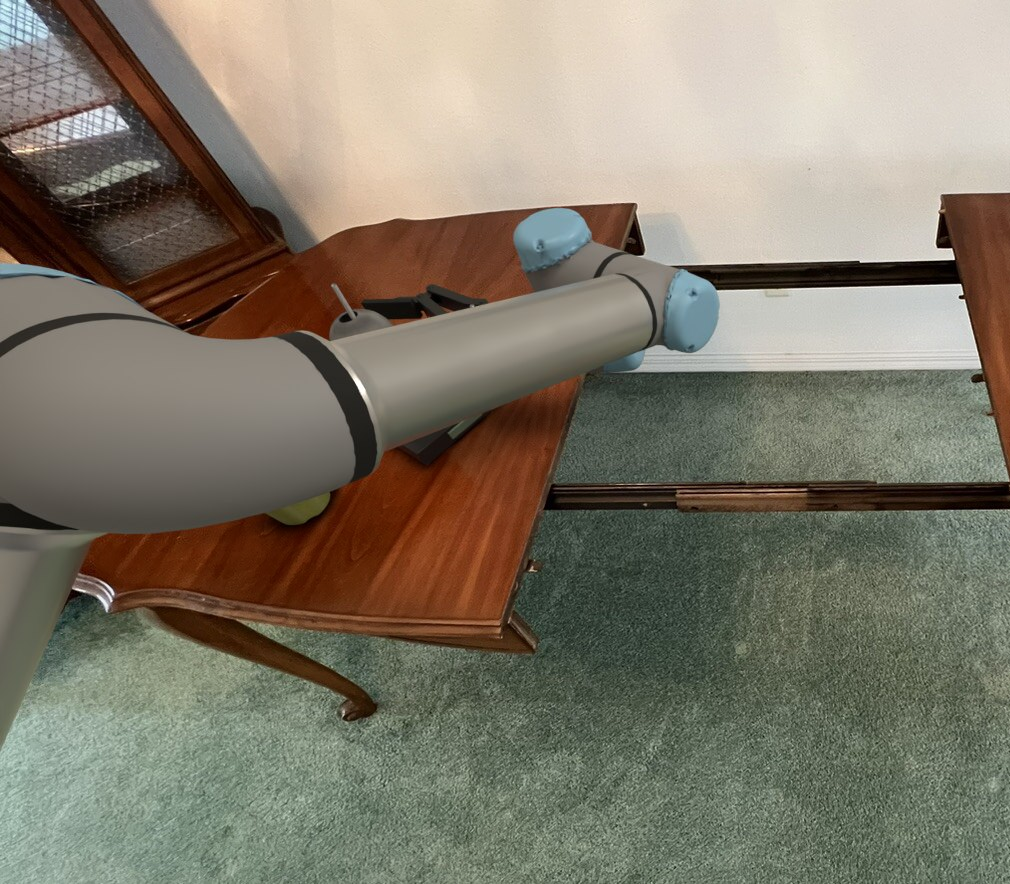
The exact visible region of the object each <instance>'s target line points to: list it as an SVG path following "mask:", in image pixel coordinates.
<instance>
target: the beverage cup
mask: <svg viewBox="0 0 1010 884" xmlns="http://www.w3.org/2000/svg"><path fill="white" fill-rule="evenodd" d="M331 288H332V290H333V291H334V293H335V295H336V296H337V298H338V299H339V302H340V303H341V305H342V306H343V308H344V310H345V311H344V312H342V313H340V314H339V315H338V316H337V317H336V318H335V319H334V320H333V322H332V323H331V325H330V329H329V334H328V335H329V336H328V337H329V341H333V340H337V339H342V338H346V337H350V336H354V335H358V334H363V333H367V332H371V331H375V330H379V329H384V328H388V327H392V326H395V325H394V324H393V323H392V322H391V321H390V320H388V319H387V318H385V317H383V316H382V315H380V314H379V313H376V312H374V311H371V310H366V309H364V308H354V309H352V308H351V306H350V305H349V303H348V301H347V299H346V297H345V296H344V295H343V293H342V292H341V290H340V288H339V286H338V285H337V284H336V283H332V284H331Z"/></svg>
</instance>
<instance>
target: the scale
mask: <svg viewBox="0 0 1010 884" xmlns="http://www.w3.org/2000/svg"><path fill="white" fill-rule="evenodd" d="M493 410H494V409H492V410H489V411H487V412H484V413H482V414H479V415H477V416H474V417H472V418H469V419H467V420H464V421H462V422H459V423H456V424H454V425H451V426H449V427H446V428H444V429H441V430H439V431H436V432H434V433H431V434H429V435H426V436H423V437H421V438H418V439H416V440H413V441H411V442H408V443H406V444H403V445H401V446H398V447H396V448H397V449H399V450H400V451H402V452H403V453H405V454H407V455H408V456H410V457H411V458H413V459H415V460H416V461H418V462H419V463H421V464H423V465H425V466H426V467H427V466H428V465H430V464H431V463H432V462H433V461H434V460H435V459H437V458H438V457H439V456H440V455H442V454H443V453H444V452H445V451H446V450H447V449H448V448H450V447H451V446H452V445H453V444H455V443H456V442H457V441H458V440H459V439H460V438H462V437H463V436H464V435H465V434H466V433H467V432H469V431H470V430H471V429H472V428H474V427H475V426H476V425H477V424H478V423H479V422H481V420H483V419H484V418H485V417H486V416H488V415H489V414H490V413H491V412H492V411H493Z"/></svg>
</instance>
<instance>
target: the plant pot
mask: <svg viewBox="0 0 1010 884" xmlns="http://www.w3.org/2000/svg"><path fill="white" fill-rule="evenodd" d="M330 500H331V493H330V492H328V493H325V494H323V495H320V496H317V497H314V498H312V499H309V500H306V501H303V502H300V503H297V504H293V505H290V506H287V507H283V508H280V509H277V510H273V511H270V512H266V513H265V514H266V515H268V516H269V517H271V518H273V519H275V520H277V521H278V522H280V523H282V524H284V525H288V526H298V525H303V524H305V523H306V522H308V521H309V520H310V519H312V518H314V517H317V516H318V515H320V514H321V513H322V512H323V511H325V509H326V508H327V506H328V504H329V502H330Z"/></svg>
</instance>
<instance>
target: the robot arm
mask: <svg viewBox="0 0 1010 884" xmlns="http://www.w3.org/2000/svg"><path fill="white" fill-rule="evenodd" d="M592 235H593V233H592V231H591V230H590V228H589V226H588V225H587V222H586V220H585V218H584V217H582V215H580V213H579V212H577V211H575V210H573V209H571V208H563V207H552V208H547V209H543V210H539V211H537V212H534V213H532V214H530V215H529V216H528V217H526V218H525V219H524V220H522V221H521V222H520V223H518V225H517V226H516V228H515V229H514V232H513V235H512V237H513V238H512V240H513V245H514V247H515V251H516V253H517V255H518V259H519V261H520V263H521V266H520V267H521V270H522V272H524V274H525V277H526V279H527V280H528V282H529V285H530V287H531V288H532V291H533V292H532V293H527V294H523V295H519V296H515V297H511V298H507V299H502V300H498V301H497V300H496V301H493V302H489V301H488V299H486V298H477V297H476V298H475V297H470V296H468V295H464V294H461V293H459V292H457V291H454V290H451V289H448V288H445V287H443V286H439V285H437V284H435V283H431V284H428V285H426V287H425V290H426V291H425V292H424V293H423V292H421V293H418V294H416V295H415V296H397V297H394V298H366V299H365V298H363V299H362V300H361V302H360V305H361V306H362V307H363V309H366V310H371V311H374V312H376V313H379V314H380V315H382V316H383V317H385V318H387V319H388V320H389V321H390V320H413V321H409V322H406V323H400V324H397V325H394V326H392V327H388V328H384V329H379V330H375V331H371V332H367V333H363V334H358V335H354V336H350V337H346V338H342V339H337V340H333V341H330V340H328V339H326V338H324V337H323V336H321V335H318V334H316V333H314V332H312V331H309V330H294V331H291V332H287V333H282V334H277V335H273V336H272V335H271V336H268V337H259V338H250V339H248V338H246V339H243V338H242V339H229V338H227V339H226V338H215V337H214V338H213V337H205V336H200V335H194V334H190V333H189V332H188V331H185V330H183V329H181V328H180V327H178V326H176V325H174V324H173V323H171V322H169V321H167V320H165V319H163V318H162V317H159V316H157V315H156V314H154V313H153V312H150V311H148V310H147V309H145V308H144V307H143V306H141V305H140V304H139V303H138V302H137V301H135V299H133V298H131V297H129V296H127V295H126V294H125V293H123V292H121V291H119V290H117V289H112V288H111V287H107V286H105V285H102V284H99V283H97V282H94V281H92V280H91V279H88V278H83V277H80V276H78V275H77V276H76V275H74V274H71V273H68V272H65V271H62V270H58V269H54V268H50V267H44V266H38V265H32V264H23V263H10V262H9V263H7V262H2V263H0V752H1V751H2V748H3V747H4V744H5V741H6V740H7V738H8V735H9V733H10V730H11V728H12V727H13V724H14V721H15V719H16V717H17V714H18V712H19V711H20V707H21V705H22V704H23V700H24V698H25V696H26V694H27V692H28V689H29V688H30V684H31V683H32V681H33V678H34V676H35V673H36V671H37V669H38V666H39V664H40V662H41V660H42V657H43V656H44V653H45V650H46V648H47V646H48V644H49V642H50V639H51V637H52V634H53V632H54V630H55V628H56V626H57V623H58V621H59V619H60V616H61V614H62V612H63V610H64V607H65V606H66V602H67V601H68V598H69V596H70V594H71V591H72V589H73V587H74V584H75V582H76V580H77V578H78V575H79V573H80V571H81V568H82V566H83V564H84V562H85V559H86V557H87V555H88V552H89V550H90V548H91V546H92V543H93V541H95V539H98V538H101V537H103V536H105V535H108V534H120V535H148V534H159V533H169V532H177V531H185V530H186V531H187V530H192V529H193V530H194V529H199V528H203V527H204V528H205V527H209V526H214V525H219V524H224V523H229V522H234V521H238V520H242V519H245V518H250V517H254V516H258V515H262V514H266V512H270V511H273V510H277V509H280V508H283V507H287V506H290V505H293V504H297V503H300V502H303V501H306V500H309V499H312V498H314V497H317V496H320V495H323V494H325V493H328V492H333V491H336V490H338V489H341V488H343V487H345V486H347V485H349V484H352V483H355V482H357V481H359V480H362V479H364V478H367V477H369V476H371V475H373V474H374V473H375V472H377V470H378V469H379V467H380V464H381V462H382V460H383V459H382V458H383V456H384V453H385V452H388V451H390V450H393V449H396V448H397V447H398V446H401V445H403V444H406V443H408V442H411V441H413V440H416V439H418V438H421V437H423V436H426V435H429V434H431V433H434V432H436V431H439V430H441V429H444V428H446V427H449V426H451V425H454V424H456V423H459V422H462V421H464V420H467V419H469V418H472V417H474V416H477V415H479V414H482V413H484V412H487V411H489V410H492V409H493V410H495V409H497V408H499V407H501V406H505V405H507V404H510V403H512V402H515V401H518V400H520V399H522V398H525V397H527V396H530V395H533V394H535V393H538V392H540V391H543V390H545V389H548V388H550V387H552V386H555V385H558V384H561V383H563V382H566V381H568V380H570V379H573V378H575V377H578V376H581V375H583V374H604V375H605V374H606V375H607V374H612V373H624V372H631V371H635V370H637V369H638V368H639V367H640V366H641V365H642V363H643V362H644V358H645V355H646V350H648V349H651V348H653V347H656V346H662V347H664V348H666V349H667V350H669V351H676V352H680V353H684V354H693V353H697V352H698V351H700V350H702V349H703V348H704V347H705V346H706V345H707V344H708V343H709V341H710V340H711V338H712V337H713V335H714V334H715V331H716V329H717V327H718V323H719V318H720V317H719V315H720V305H721V304H720V296H719V294H718V291H717V289H716V287H715V285H713V284H712V283H711V282H710V281H709V280H707V279H705V278H702V277H700V276H698V275H696V274H693V273H691V272H688V270H686V269H683V268H677V267H673V266H669V265H667V264H664V263H660V262H657V261H654V260H650V259H647V258H645V257H641V256H639V255H634V254H632V253H629V252H627V251H623V250H621V249H617V248H614V247H611V246H607V245H605V244H602V243H599V242H596V241H594V240H593V236H592ZM447 310H449V311H447ZM450 311H451V312H450ZM424 315H425V316H426V318H423V316H424ZM493 410H492V411H493Z"/></svg>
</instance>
